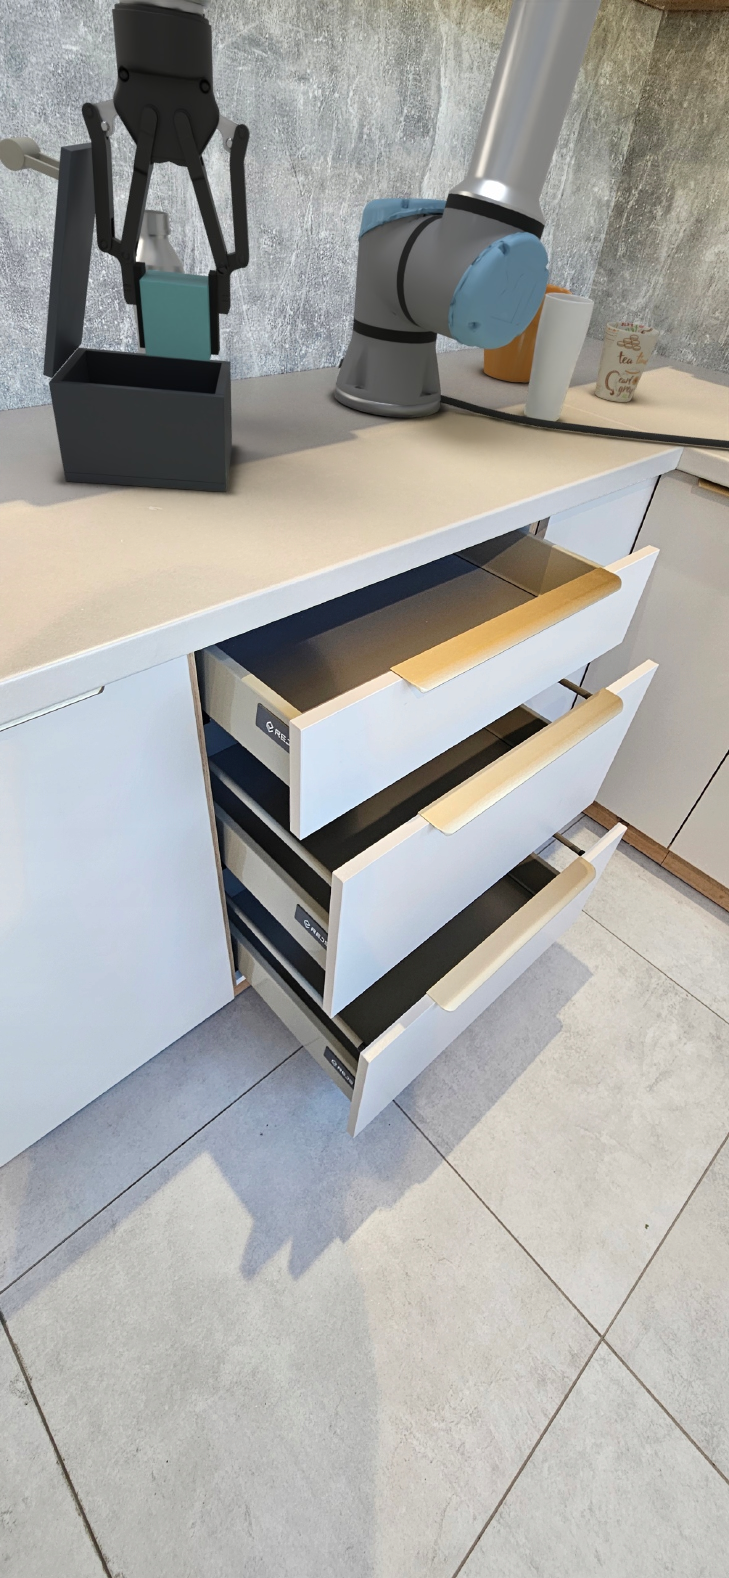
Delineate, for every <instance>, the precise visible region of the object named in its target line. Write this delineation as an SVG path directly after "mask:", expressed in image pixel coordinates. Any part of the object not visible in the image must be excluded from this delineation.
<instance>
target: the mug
mask: <svg viewBox="0 0 729 1578" xmlns="http://www.w3.org/2000/svg"><path fill="white" fill-rule="evenodd" d="M659 337H660V331H659V330H658V329H656V328H652V327H650V326H646V325H640V324H637V323H630V322H622V321H609V322H607V324H606V326H605V329H604V337H603V341H602V347H601V353H600V359H599V367H598V370H597V371H598V372H597V378H596V383H595V390H594V394H595V396H596V397H598V398H600V399H603V400H607V401H610V402H618V403H628V402H631V400H632V398H633V396H634V394H635V392H636V389H637V387H638V385H639V382H640V380H641V378H642V376H643V374H644V371H645V369H646V367H647V364H648V362H649V360H650V357H651V355H652V353H653V350H654V348H655V346H656V343H657V342H658V339H659Z"/></svg>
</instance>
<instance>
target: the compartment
mask: <svg viewBox="0 0 729 1578" xmlns="http://www.w3.org/2000/svg"><path fill="white" fill-rule="evenodd" d="M231 364H232V363H231V361H228V360H220V359H210V361H200V360H190V359H179V358H169V357H158V356H148V355H146V354H144V353H138V352H133V351H121V350H111V349H101V348H100V349H99V348H87V347H78V348H77V349H76V351H75V352H74V353H73V354H72V355H71V357H70V358H69V359H68V360H67V361H66V362H65V364H64V365H63V366H62V367H61V368H60V369H59V371H58V372H57V373H56V374H55V375H54V377H53V378H50V380H49V382H48V387H49V392H50V399H51V405H52V409H53V410H52V411H53V417H54V420H55V429H56V433H57V440H58V446H59V451H60V458H61V463H62V469H63V474H64V481H65V482H75V483H89V484H90V483H91V484H104V485H117V486H131V487H132V486H133V487H147V488H161V489H177V490H191V491H207V492H221V493H226V492H227V488H228V481H229V473H230V465H231V458H232V450H233V427H232V425H233V422H232V420H233V419H232V418H233V417H232V375H231V373H232V371H231V369H232V366H231Z"/></svg>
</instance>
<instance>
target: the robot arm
mask: <svg viewBox="0 0 729 1578" xmlns="http://www.w3.org/2000/svg"><path fill="white" fill-rule="evenodd" d="M602 1H603V0H512V4H511V8H510V11H509V15H508V18H507V23H506V26H505V31H504V34H503V38H502V42H501V45H500V49H499V53H498V57H497V61H496V64H495V68H494V72H493V76H492V80H491V84H490V87H489V90H488V94H487V98H486V102H485V106H484V110H483V113H482V116H481V121H480V125H479V128H478V132H477V136H476V140H475V144H474V148H473V151H472V155H471V159H470V163H469V166H468V170H467V174H466V176H465V177H464V179H463V180H462V181H460V182H458V184H456V185H455V186H454V187H452V188H451V189H450V190H448V194H447V197H446V200H445V199H435V198H403V197H397V198H396V197H393V198H392V197H391V198H389V197H388V198H376V199H372V200H370V201H369V202H368V203H366V205H365V207H364V208H363V211H362V217H361V222H360V228H359V234H358V236H357V237H358V238H357V241H358V249H357V263H356V264H357V265H356V278H355V279H356V281H355V292H354V293H355V294H354V296H355V297H354V307H353V320H352V321H353V324H352V333H351V339H350V340H349V343H348V346H347V349H346V352H345V355H344V357H343V358H341V359H340V361H339V364H338V367H337V369H338V370H339V371H338V374H337V376H336V380H335V384H334V385H335V386H334V387H335V388H334V397H335V399H336V400H337V401H338V402H339V403H340V404H342V405H344V406H346V407H349V408H351V409H354V410H357V411H360V412H363V413H367V414H372V415H378V416H385V417H393V418H420V417H427V416H431V415H433V414H435V413H437V412H438V411H439V410H440V407H441V404H443V405H447V406H451V407H454V408H459V409H462V410H465V411H468V412H470V413H474V414H478V415H481V416H485V417H490V418H493V419H497V420H501V421H506V422H511V423H516V424H520V425H526V426H531V427H537V428H544V429H550V430H557V431H558V430H559V431H564V432H565V431H566V432H567V431H568V432H575V433H584V434H590V435H599V436H607V437H614V438H615V437H616V438H623V439H624V438H625V439H633V440H634V439H635V440H643V441H653V442H663V443H672V444H682V445H689V446H690V445H691V446H700V447H710V448H722V449H729V440H727V439H716V438H715V439H714V438H707V437H706V438H705V437H695V436H685V435H675V434H666V433H658V432H657V433H656V432H646V431H638V430H630V429H629V430H628V429H621V428H611V427H603V426H595V425H587V424H580V423H571V422H563V421H557V420H556V421H549V420H542V419H536V418H530V417H527V416H526V415H525V416H524V415H520V414H515V413H511V412H504V411H500V410H497V409H492V408H488V407H485V406H480V405H477V404H474V403H471V402H468V401H464V400H461V399H457V398H454V397H451V396H447V395H443V394H442V387H441V379H440V372H439V364H438V355H437V340H438V339H437V338H438V335H441V336H443V337H446V338H449V339H451V340H453V341H456V342H457V343H458V344H460V345H464V346H467V347H475V348H479V349H482V350H484V349H496V348H500V347H503V346H505V345H507V344H509V343H510V342H511V341H512V340H513V339H514V338H515V337H517V336H519V335H520V334H521V333H522V332H523V331H524V330H525V329H526V328H527V327H528V325H529V324H530V323H531V321H532V320H533V318H534V316H535V315H536V313H537V311H538V309H539V307H540V305H541V303H542V300H543V298H544V295H545V291H546V288H547V284H549V283H548V282H549V277H550V276H549V275H550V271H549V269H548V268H547V266H548V265H549V255H548V252H547V249H546V247H545V245H544V244H543V243H542V241H541V238H542V236H543V234H544V233H543V232H544V230H545V227H546V219H545V217H544V213H543V211H542V208H541V203H540V202H541V201H540V198H541V195H542V192H543V189H544V185H545V182H546V179H547V176H548V173H549V169H550V166H551V163H552V161H553V157H554V154H555V150H556V148H557V144H558V141H559V138H560V135H561V131H562V129H563V125H564V121H565V119H566V117H567V112H568V109H569V106H570V103H571V99H572V96H573V94H574V90H575V87H576V84H577V80H578V77H579V73H580V71H581V67H582V64H583V61H584V58H585V55H586V51H587V49H588V45H589V43H590V39H591V37H592V32H593V29H594V26H595V23H596V19H597V17H598V13H599V10H600V8H601V4H602ZM118 2H119V3H115V4H114V6H113V7H114V8H112V9H111V15H112V25H113V26H112V27H113V38H114V49H115V50H114V51H115V59H116V60H115V61H116V71H117V73H116V74H117V80H116V81H117V82H116V85H115V89H114V92H113V96H112V99H111V98H110V99H108V100H104V101H100V102H84V103H83V104H82V105H81V115H82V118H83V122H84V124H85V127H86V131H87V133H88V136H89V139H90V142H91V148H92V165H93V182H94V199H95V234H96V245H97V248H98V249H99V250H100V251H101V252H102V253H104V254H105V253H106V254H108V255H110V256H112V257H114V258H115V259H116V260H117V261H118V262H119V264H120V273H121V283H122V289H123V290H122V293H123V299H124V301H125V304H126V305H131V306H133V305H136V309H137V320H138V331H139V343H140V348H145V340H144V328H143V316H142V305H141V293H140V279H141V278H142V277H143V276H144V274H145V273H146V266H145V262H136V257H137V249H138V244H139V238H140V233H141V228H142V222H143V217H144V212H145V209H146V205H147V201H148V195H149V190H150V185H151V184H150V183H151V178H152V175H153V171H154V167H155V164H164V163H171V164H173V165H176V166H178V167H183V168H186V169H187V172H188V175H189V178H190V179H189V180H190V181H191V184H192V188H193V191H194V194H195V198H196V201H197V205H198V209H199V213H200V216H201V220H202V223H203V227H204V230H205V233H206V237H207V241H208V244H209V249H210V252H211V255H212V258H213V262H214V266H215V269H209V270H208V274H207V276H208V285H209V312H210V342H211V356H219V355H220V351H221V337H220V336H221V333H220V328H221V327H220V315H227V316H228V315H229V313H230V310H231V307H232V302H231V301H232V298H231V295H232V294H231V275H232V274H233V272H235V271H237V270H240V269H245V268H247V267H248V266H249V264H250V239H249V223H248V221H249V219H248V203H247V201H248V199H247V183H246V166H245V165H246V164H245V160H246V155H247V150H248V146H249V142H250V138H251V132H250V128H249V126H248V125H246V124H245V123H239V122H236V121H234V120H232V119H231V118H229V117H227V116H225V115H223V114H221V111H220V108H219V105H218V103H217V101H216V98H215V92H214V68H213V67H214V66H213V65H214V64H213V62H214V61H213V31H212V30H213V29H212V28H213V26H212V25H211V24H210V21H209V19H208V18H206V14H205V13H204V10H207V9H209V7H210V6H211V5H212V0H118ZM117 117H119V119H120V121H121V122H122V124H123V126H124V127H125V129H126V131H127V133H128V134H129V136H130V137H131V139H132V141H133V142H134V145H135V146H136V148H135V152H134V153H135V154H134V159H133V165H132V175H131V181H130V186H129V192H128V197H127V198H128V199H127V203H126V210H125V216H124V222H123V227H122V233H121V238H120V239H119V238H117V237H116V224H115V199H114V198H115V197H114V180H113V179H114V178H113V157H112V154H113V153H112V143H111V136H113V135H114V134H115V132H116V131H115V130H116V127H115V121H116V119H117ZM217 130H218V131H219V132H220V134H221V136H222V146H223V148H224V150H225V152H227V153H229V179H230V180H229V181H230V191H231V192H230V193H231V194H230V195H231V210H232V226H233V227H232V228H233V240H234V251H232V252H228V248H227V245H226V241H225V237H224V234H223V230H222V227H221V222H220V218H219V216H218V211H217V207H216V205H215V200H214V196H213V194H212V189H211V184H210V182H209V178H208V174H207V168H206V165H205V162H204V157H203V154H204V152H205V150H206V149H207V146H209V143H210V141H211V140H212V138H213V136H214V134H215V132H216V131H217Z"/></svg>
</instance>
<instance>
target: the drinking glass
mask: <svg viewBox="0 0 729 1578" xmlns="http://www.w3.org/2000/svg"><path fill="white" fill-rule="evenodd" d="M594 306H595V301H594V300H593V299H591V298H589V297H586V296H581V295H576V294H572V295H571V294H564V293H547V294H546V296H545V300H544V303H543V307H542V311H541V315H540V319H539V324H538V329H537V335H536V341H535V348H534V355H533V361H532V368H531V375H530V381H529V382H528V387H527V394H526V399H525V404H524V408H523V413H524V415H525V417H530V418H536V419H542V420H549V421H556V422H557V421H558V420H559V419H560V417H561V414H562V410H563V407H564V402H565V400H566V398H567V394H568V392H569V387H570V385H571V382H572V379H573V377H574V373H575V370H576V368H577V364H578V362H579V359H580V356H581V353H582V351H583V347H584V344H585V341H586V338H587V335H588V332H589V328H590V324H591V320H592V316H593V312H594V311H593V310H594Z"/></svg>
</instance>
